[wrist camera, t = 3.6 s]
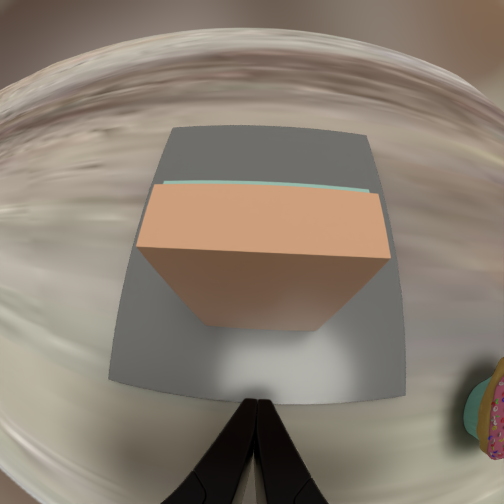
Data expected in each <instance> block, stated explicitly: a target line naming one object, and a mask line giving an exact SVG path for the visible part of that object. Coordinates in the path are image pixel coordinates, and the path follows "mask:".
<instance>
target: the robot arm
mask: <svg viewBox="0 0 504 504" xmlns="http://www.w3.org/2000/svg"><path fill="white" fill-rule="evenodd" d="M256 415H257V416H256ZM254 441H255V442H254ZM253 452H254V472H255V486H256V499H257V504H329V503H328V502H327V501H326V499H325V498H324V497H323V495H322V493H321V492H320V490H319V489H318V487H317V485H316V484H315V482H314V480H313V478H311V475H310V473H309V471H308V470H307V468H306V466H305V464H304V462H303V460H302V459H301V457H300V455H299V453H298V451H297V449H296V447H295V446H294V444H293V442H292V440H291V438H290V436H289V434H288V432H287V430H286V428H285V426H284V425H283V423H282V421H281V419H280V417H279V415H278V413H277V411H276V409H275V407H274V405H273V403H272V401H271V400H270V399H258V403H257V399H256V398H245V399H244V400H243V401H242V403H241V404H240V406H239V407H238V409H237V410H236V411H235V413H234V414H233V416H232V417H231V419H230V420H229V421H228V423H227V424H226V426H225V427H224V429H223V430H222V431H221V433H220V434H219V436H218V437H217V438H216V440H215V441H214V442H213V444H212V445H211V446H210V448H209V449H208V450H207V452H206V453H205V454H204V456H203V457H202V458H201V460H200V461H199V462H198V464H197V465H196V466H195V467H194V469H193V471H191V472H190V474H189V475H188V476H187V477H186V479H185V480H184V481H183V482H182V483H181V484H180V485H179V487H178V488H177V489H176V490H175V491H174V492H173V493H172V494H171V495H170V496H168V497H167V498H166V499H165V500H164V501H163V502H162V503H161V504H242V500H243V496H244V492H245V488H246V484H247V480H248V476H249V472H250V468H251V464H252V459H253Z"/></svg>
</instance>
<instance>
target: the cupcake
mask: <svg viewBox="0 0 504 504" xmlns="http://www.w3.org/2000/svg"><path fill="white" fill-rule="evenodd" d="M463 420H464V426H465V429H466V430H467V432H468V433H469V434H471V435H473V436H474V437H475V438H477V439H478V440H479V441H480V449H481V450H482V451H483V452H484V453H486V454H487V455H488V456H489V457H490V458H491V459H493V460H498V459H502V458H504V357H503V358H502V359H500V361H499V362H498V365H497V367H496V369H495V371H494V373H493V375H492V376H491V377H490V378H488V379H487V380H485V381H483V382H481V383H480V384H478V385H477V386H476V387H475V388H474V389H473V391H472V392H471V394H470V395H469V397H468V399H467V402H466V405H465V409H464V416H463Z"/></svg>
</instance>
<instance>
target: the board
mask: <svg viewBox="0 0 504 504" xmlns="http://www.w3.org/2000/svg"><path fill="white" fill-rule="evenodd" d="M189 180H222V181H262V182H284V183H300V184H315V185H327V186H339V187H349V188H359V189H368V190H369V192H370V193H375V194H378V195H379V199H380V203H381V208H382V213H383V217H384V222H385V227H386V233H387V238H388V244H389V250H390V256H391V259H390V260H389V261H388V262H387V263H386V264H385V265H384V266H383V267H382V268H381V269H380V270H379V271H378V272H377V273H376V274H375V276H374V277H373V278H372V279H371V280H370V281H369V282H368V283H367V284H366V285H365V286H364V287H363V288H362V289H361V290H360V291H359V292H358V293H356V294H355V295H354V296H353V297H352V298H351V299H350V300H349V301H348V302H347V303H346V304H345V305H344V306H343V307H342V308H341V309H340V310H339V311H338V312H336V313H335V314H334V315H333V316H332V317H331V318H330V319H329V320H328V321H327V322H325V323H324V324H323V325H322V326H321V327H320V328H319V329H318V330H316V331H290V330H264V329H246V328H231V327H218V326H207V325H205V324H204V323H203V322H202V321H201V320H200V319H199V318H198V317H197V316H196V315H195V314H194V313H193V311H192V310H191V309H190V308H189V307H188V306H187V305H186V304H185V303H184V302H183V301H182V300H181V298H180V297H179V296H178V295H177V294H176V293H175V292H174V291H173V290H172V288H171V287H170V286H169V285H168V284H167V283H166V282H165V280H164V279H163V278H162V277H161V276H160V275H159V274H158V272H157V271H156V270H155V269H154V268H153V267H152V265H151V264H150V263H149V262H148V261H147V259H146V258H145V257H144V256H143V255H142V253H141V252H140V251H139V250H138V248H137V247H136V244H137V241H138V237H139V233H140V230H141V226H142V222H143V219H144V216H145V212H146V209H147V206H148V202H149V199H150V196H151V193H152V190H153V187H154V184H163V183H164V181H189ZM108 379H109V380H112V381H116V382H120V383H124V384H128V385H132V386H136V387H141V388H145V389H150V390H155V391H160V392H165V393H171V394H177V395H183V396H189V397H196V398H203V399H212V400H221V401H231V402H242V401H243V400H244V399H245V398H256V399H257V403H258V399H270V400H271V401H272V403H273V404H331V403H347V402H359V401H369V400H378V399H386V398H393V397H399V396H405V394H406V351H405V330H404V316H403V305H402V295H401V286H400V278H399V271H398V264H397V258H396V252H395V246H394V241H393V235H392V230H391V225H390V221H389V216H388V211H387V207H386V203H385V199H384V195H383V191H382V187H381V183H380V179H379V176H378V172H377V168H376V165H375V162H374V158H373V155H372V152H371V149H370V145H369V142H368V139H367V136H366V135H360V134H353V133H345V132H338V131H329V130H320V129H309V128H296V127H280V126H251V125H222V126H193V127H177V128H173V129H172V131H171V134H170V136H169V139H168V141H167V144H166V146H165V149H164V151H163V154H162V156H161V159H160V162H159V165H158V167H157V170H156V173H155V176H154V178H153V181H152V184H151V187H150V190H149V193H148V196H147V199H146V202H145V206H144V209H143V212H142V215H141V219H140V222H139V225H138V229H137V233H136V236H135V240H134V243H133V247H132V251H131V255H130V259H129V263H128V267H127V271H126V276H125V280H124V285H123V289H122V294H121V299H120V304H119V309H118V315H117V320H116V326H115V332H114V339H113V346H112V353H111V361H110V369H109V378H108Z"/></svg>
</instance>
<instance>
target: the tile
mask: <svg viewBox="0 0 504 504" xmlns="http://www.w3.org/2000/svg"><path fill="white" fill-rule="evenodd" d="M136 247H137V248H138V250H139V251H140V252H141V253H142V255H143V256H144V257H145V258H146V259H147V261H148V262H149V263H150V264H151V265H152V267H153V268H154V269H155V270H156V271H157V272H158V274H159V275H160V276H161V277H162V278H163V279H164V280H165V282H166V283H167V284H168V285H169V286H170V287H171V288H172V290H173V291H174V292H175V293H176V294H177V295H178V296H179V297H180V298H181V300H182V301H183V302H184V303H185V304H186V305H187V306H188V307H189V308H190V309H191V310H192V311H193V313H194V314H195V315H196V316H197V317H198V318H199V319H200V320H201V321H202V322H203V323H204V324H205V325H207V326H218V327H231V328H246V329H264V330H290V331H316V330H318V329H319V328H320V327H321V326H322V325H323V324H324V323H325V322H327V321H328V320H329V319H330V318H331V317H332V316H333V315H334V314H335V313H336V312H338V311H339V310H340V309H341V308H342V307H343V306H344V305H345V304H346V303H347V302H348V301H349V300H350V299H351V298H352V297H353V296H354V295H355V294H356V293H358V292H359V291H360V290H361V289H362V288H363V287H364V286H365V285H366V284H367V283H368V282H369V281H370V280H371V279H372V278H373V277H374V276H375V274H376V273H377V272H378V271H379V270H380V269H381V268H382V267H383V266H384V265H385V264H386V263H387V262H388V261H389V260H390V259H391V256H390V250H389V244H388V238H387V233H386V227H385V222H384V217H383V213H382V208H381V203H380V199H379V195H378V194H375V193H370V192H369V190H368V189H359V188H349V187H339V186H327V185H315V184H300V183H284V182H262V181H222V180H189V181H164V183H163V184H154V187H153V190H152V193H151V196H150V199H149V202H148V206H147V209H146V212H145V216H144V219H143V222H142V226H141V230H140V233H139V237H138V241H137V244H136Z"/></svg>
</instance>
